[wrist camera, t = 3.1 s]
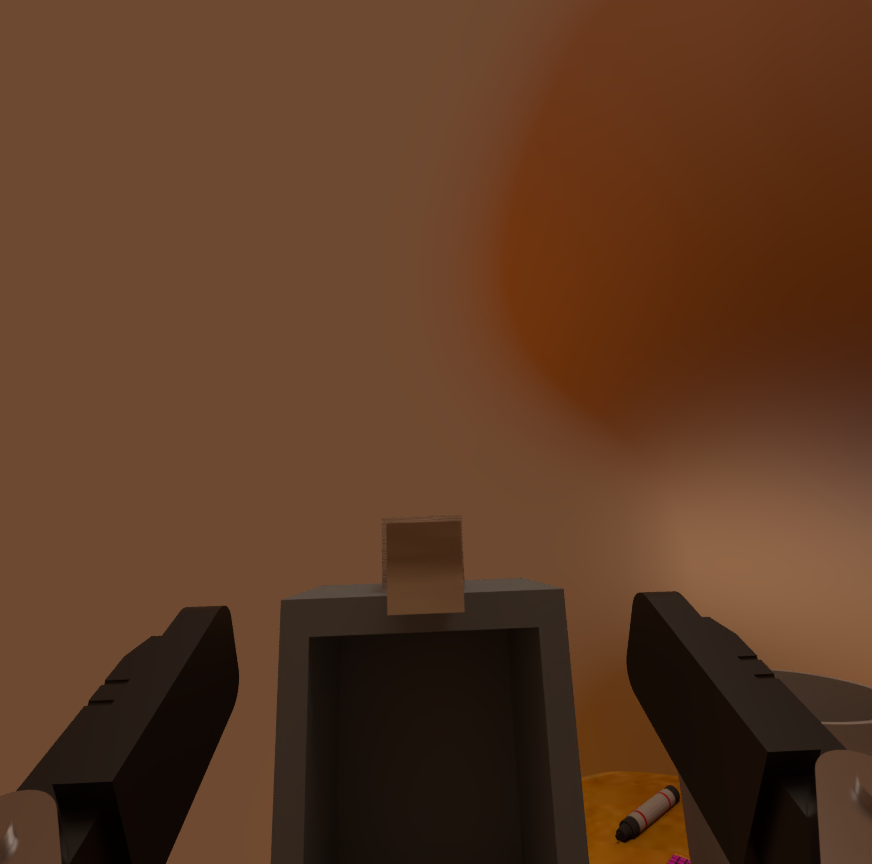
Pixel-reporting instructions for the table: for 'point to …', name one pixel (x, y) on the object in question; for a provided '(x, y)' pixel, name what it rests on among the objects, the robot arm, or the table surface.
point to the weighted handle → (423, 564)
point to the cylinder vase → (833, 706)
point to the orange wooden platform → (678, 859)
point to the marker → (647, 813)
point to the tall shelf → (427, 730)
